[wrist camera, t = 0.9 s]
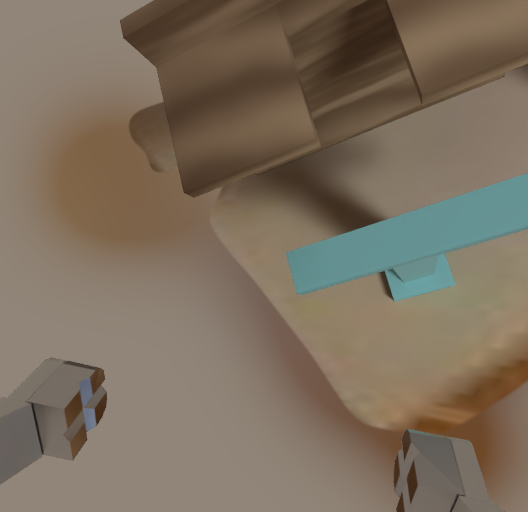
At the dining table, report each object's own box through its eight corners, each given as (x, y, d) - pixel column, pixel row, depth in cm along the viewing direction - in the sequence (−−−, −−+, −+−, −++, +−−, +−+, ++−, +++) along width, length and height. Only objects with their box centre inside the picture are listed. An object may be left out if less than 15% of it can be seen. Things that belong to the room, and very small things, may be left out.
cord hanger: (508, 271, 41) (566, 242, 24) (349, 313, 46) (302, 315, 29) (486, 213, 42) (526, 147, 25) (333, 261, 47) (280, 232, 30)
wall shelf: (533, 146, 42) (654, -42, 19) (273, 236, 50) (151, 176, 28) (488, 39, 44) (549, -234, 22) (249, 142, 53) (119, 20, 31)
